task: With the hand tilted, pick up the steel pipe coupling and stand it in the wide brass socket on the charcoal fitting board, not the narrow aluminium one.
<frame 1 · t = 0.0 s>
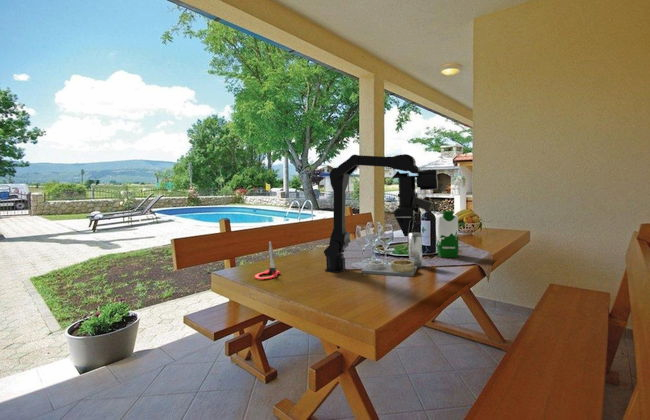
hand: (408, 234, 116), 15 cm above the table, tool pointing down, fingers open, 9 cm apart
tow hook: (266, 277, 123), on the table
wide brass socket: (402, 271, 121), resting on fitting board
milk carton: (447, 256, 144), on the table
fitting board: (389, 270, 123), on the table
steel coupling: (415, 266, 129), on the table
narrow aluminium socket: (376, 270, 125), resting on fitting board
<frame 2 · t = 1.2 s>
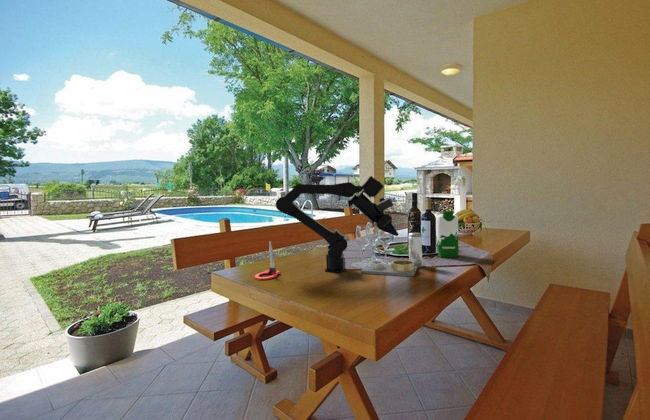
hand: (394, 233, 128), 13 cm above the table, tool tilted 45°, fingers open, 9 cm apart
nothing on the table moved.
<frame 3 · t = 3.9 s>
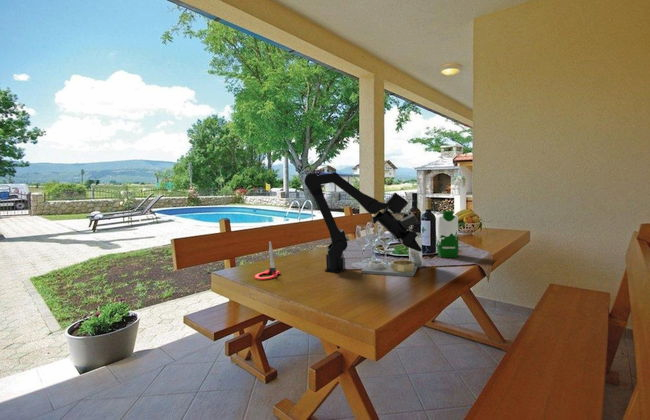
hand: (418, 249, 128), 7 cm above the table, tool tilted 45°, fingers closed on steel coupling, 5 cm apart
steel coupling: (415, 266, 129), on the table, touching gripper
everything else where it was.
when the fingers open (8 cm above the table, at t = 8.0 s): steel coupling stays where it is, resting on fitting board.
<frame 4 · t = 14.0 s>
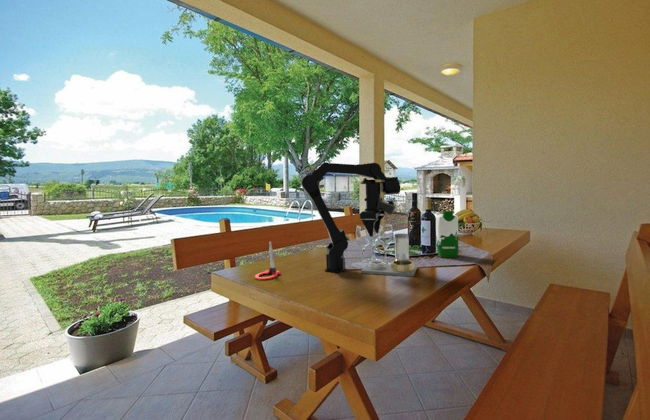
hand: (374, 234, 129), 13 cm above the table, tool pointing down, fingers open, 9 cm apart
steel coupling: (402, 269, 121), point 1 cm above the table, touching fitting board
everything else where it was.
at the end: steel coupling 0.1 cm off-centre on the wide brass socket, point 1.0 cm above the wide brass socket's base; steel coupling tilted 0°; the gripper is holding nothing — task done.
